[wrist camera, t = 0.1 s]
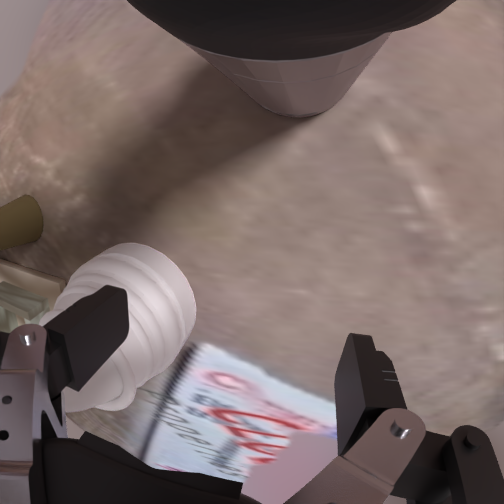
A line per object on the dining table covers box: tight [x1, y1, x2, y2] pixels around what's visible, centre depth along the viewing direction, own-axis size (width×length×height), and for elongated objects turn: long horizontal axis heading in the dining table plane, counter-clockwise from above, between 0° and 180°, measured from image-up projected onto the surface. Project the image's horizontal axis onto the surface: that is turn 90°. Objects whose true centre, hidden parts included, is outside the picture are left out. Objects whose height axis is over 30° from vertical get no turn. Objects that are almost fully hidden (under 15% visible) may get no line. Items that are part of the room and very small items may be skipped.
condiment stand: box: [0, 258, 66, 333], centre depth 34 cm, size 16×16×5 cm
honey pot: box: [39, 242, 196, 427], centre depth 23 cm, size 13×13×18 cm
